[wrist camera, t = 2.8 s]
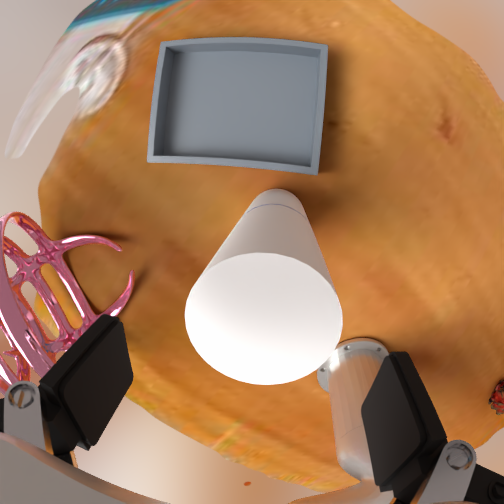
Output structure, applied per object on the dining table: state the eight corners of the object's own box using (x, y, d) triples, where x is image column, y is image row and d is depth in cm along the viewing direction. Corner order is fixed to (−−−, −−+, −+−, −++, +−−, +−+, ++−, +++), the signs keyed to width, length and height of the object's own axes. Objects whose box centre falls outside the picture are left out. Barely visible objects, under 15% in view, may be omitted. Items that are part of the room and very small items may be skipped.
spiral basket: (71, 167, 16) (-103, 325, 7) (210, 395, 30) (54, 472, 21) (84, 163, 39) (-31, 244, 29) (151, 295, 53) (49, 357, 43)
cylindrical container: (273, 176, 34) (253, 215, 11) (316, 214, 35) (373, 322, 12) (237, 218, 36) (158, 327, 13) (278, 254, 37) (268, 402, 14)
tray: (323, 56, 28) (327, 45, 25) (313, 173, 34) (317, 175, 30) (172, 51, 30) (161, 42, 26) (160, 161, 35) (146, 162, 31)
